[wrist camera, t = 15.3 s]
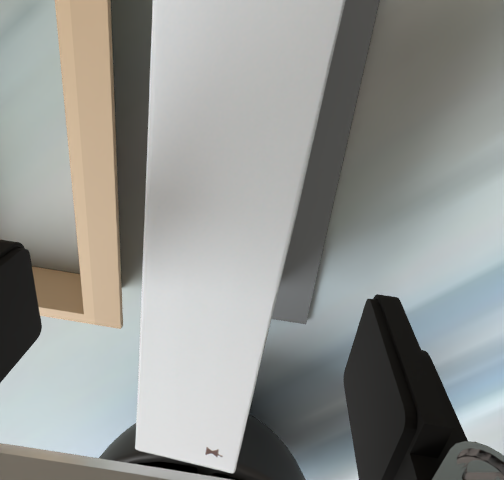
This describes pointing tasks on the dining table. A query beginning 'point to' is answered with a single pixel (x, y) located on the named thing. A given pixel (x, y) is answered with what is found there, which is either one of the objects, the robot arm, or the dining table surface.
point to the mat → (325, 161)
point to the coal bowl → (245, 476)
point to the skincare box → (221, 207)
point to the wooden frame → (88, 170)
